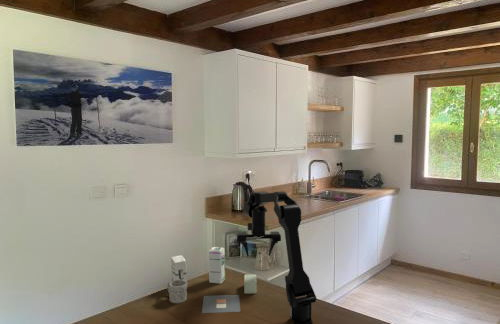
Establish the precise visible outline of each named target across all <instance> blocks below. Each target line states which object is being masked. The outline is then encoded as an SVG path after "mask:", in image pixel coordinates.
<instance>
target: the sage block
mask: <svg viewBox="0 0 500 324" xmlns="http://www.w3.org/2000/svg"><path fill="white" fill-rule="evenodd" d="M243 283H244V285H243V286H244V288H243V289H244V291H243V292H244V293H243V294H258V291H257V289H258V285H257V283H258V281H257V274H249V273H248V274H244V281H243Z"/></svg>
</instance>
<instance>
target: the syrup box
mask: <svg viewBox="0 0 500 324" xmlns="http://www.w3.org/2000/svg"><path fill="white" fill-rule="evenodd" d="M225 252H226V251H225V247H222V246H212V248H210V249H209V250H208V276H209V277H208V278H209V279H208V282H209V283H210V284H223V282H224V281H225V279H226V263H225V262H226V261H225V260H226V259H225V257H226V256H225V255H226V254H225Z"/></svg>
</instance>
